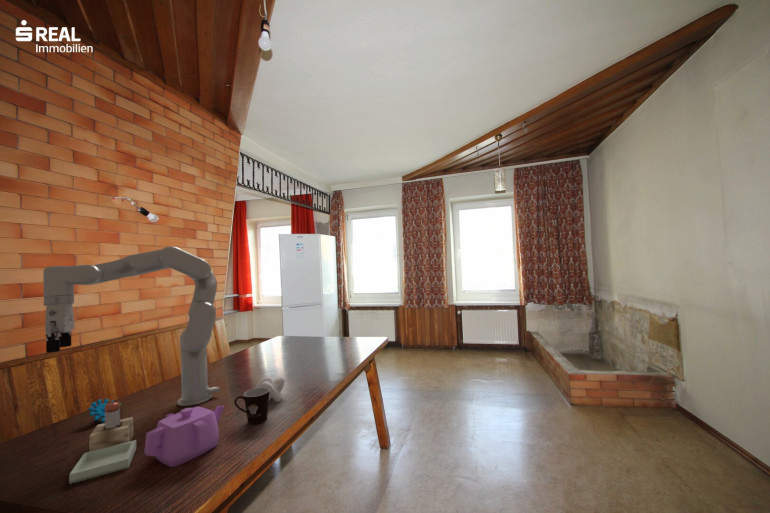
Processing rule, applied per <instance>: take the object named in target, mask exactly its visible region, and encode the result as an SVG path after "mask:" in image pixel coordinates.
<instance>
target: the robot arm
mask: <svg viewBox="0 0 770 513" xmlns="http://www.w3.org/2000/svg"><path fill="white" fill-rule="evenodd" d="M168 269H171V270H174V271H176V272H179V273H182V274H183V275H185V276H188V278H190V279H191V280H192V281H193V283H194V291H193V296H192V299H191V303H190V306H189V308H188V311H187V312H188V313H187V314H188V318H189V319H188V321H187V326H186V328H185V329H183V331H182V332H181V334H180V336H179V337H180V338H179V344H180V364H181V366H180V367H181V368H180V370H181V371H180V375H181V378H180V379H181V382H180V383H181V397H180V398H179V399H178V400H177V401H176V402H177V405H178V406H180V407H189V406H190V407H191V406H196V405H199V404H203V403H205V402H207V401H209V400H211V398H212V396H213V395H212V394H213V393H214V394H215V393H220V386H219V387H218V386H213V387H209V384H208V355H207V354H208V352H207V351H208V350H207V347H208V345H209V343H210V341H211V338H212V334H213V330H214V327H215V326H214V325H215V321H216V318H217V310H216V307H215V305H214V303H215V298H216V295H217V291H218V290H217V289H218V282H217V278H216V276H215V274H214V272H213V271H212V266H211V265H210V263H209V262H208V261H207V260H205V259H203V258H201V257H199V256H196V255H194V254H193V253H192V254H191V253H190V252H189V251H185V250H183V249H182V248H179V247H177V246H166V247H164V248H160V249H154V250H150V251H145V252H139V253H134V254H130V255H127V256H125V257H122V258H120V259H115V260H112V261H107V262H103V263H98V264H81V265H80V264H79V265H71V266H69V265H51V266H46V267H45V268H44V269H43V276H42V278H43V280H42V281H43V307H46V308H45V316H44V317H45V318H44V329H45V337H46V338H45V344H46V345H45V350H46V351H45V352H46V354H49V353H50V354H51V353H59V352H60V351H61V348H67V347H71V346H72V331H73V330H74V329H75V314H74V308H73V307H74V306H73V304H75V285H76V286H77V285H79V286H93V285H97V284H102V283H107V282H110V281H115V280H120V279H124V278H130V277H136V276H142V275H145V274H150V273H154V272H158V271H162V270H168Z"/></svg>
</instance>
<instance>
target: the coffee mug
mask: <svg viewBox="0 0 770 513" xmlns="http://www.w3.org/2000/svg"><path fill="white" fill-rule="evenodd" d="M255 388H256V387H255ZM255 388H251V389H249V390H247V391H245V392H244V393H243V396H242V395H240V396H236V398H235V399H234V406H235V407H236V408H237V409H238V410H240V411H242V412H243V413H245V414H246V419H247V424H248V425H251V426H256V425H260V424H263V423H265V422H266V421H267V420H268V415H269V414H268V412H269V402H270V401H269V391H270V390H269V389H268V388H256V389H255ZM238 399H242V400H243V401H244V405H245V409H243V408H242V407H241V406H239V405H238V403H237V401H238Z"/></svg>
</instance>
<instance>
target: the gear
mask: <svg viewBox="0 0 770 513" xmlns="http://www.w3.org/2000/svg"><path fill="white" fill-rule="evenodd" d="M102 401H103V403H102ZM109 401H110V400H109V399H108V398H105V399H104V400H103V399H101V398H99V399H97V400H96V401H93V402H91V404H90V406H89V408H88V411H90V412H89V416H90V417H92V416H94V417H93V419H94V421H99V419H100V418H101V419H100V422H102V423H105V405H106V404H108V403H109ZM111 402H115V400H111V401H110V403H111ZM121 405H122V403H121V402H120V406H121Z"/></svg>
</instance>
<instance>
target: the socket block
mask: <svg viewBox="0 0 770 513" xmlns="http://www.w3.org/2000/svg"><path fill="white" fill-rule="evenodd" d="M133 436H134V416H132V417H127V418H122V419H121V418H120V427H118V428H114V429H110V430H105V422H102V423H100V424H97V425H96V426H95V427H94V429H93V430H92V432H91V433H90V435H89V440H88V441H89V444H88V445H89V446H88V450H89V451H88V452H90V451H94V450H98V449H102V448H106V447H110V446H114V445H118V444H122V443H126V442H130V441H132V439H133Z"/></svg>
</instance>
